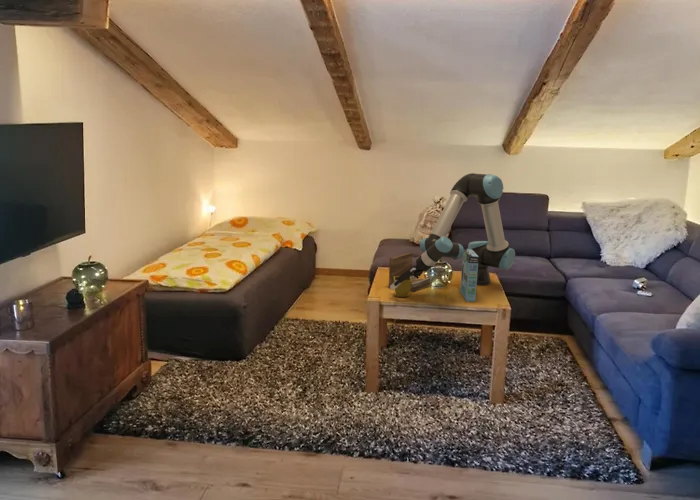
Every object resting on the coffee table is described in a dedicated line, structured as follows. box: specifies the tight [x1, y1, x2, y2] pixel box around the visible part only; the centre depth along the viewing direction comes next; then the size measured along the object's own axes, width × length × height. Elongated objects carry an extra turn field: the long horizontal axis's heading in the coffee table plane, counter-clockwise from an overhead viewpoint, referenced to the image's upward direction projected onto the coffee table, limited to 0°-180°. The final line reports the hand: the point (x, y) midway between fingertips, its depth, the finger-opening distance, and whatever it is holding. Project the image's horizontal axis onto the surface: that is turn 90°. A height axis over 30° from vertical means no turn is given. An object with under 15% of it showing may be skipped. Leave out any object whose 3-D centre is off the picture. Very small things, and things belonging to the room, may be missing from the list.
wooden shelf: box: [388, 252, 430, 293], centre depth 328 cm, size 15×20×16 cm
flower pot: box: [394, 276, 412, 298], centre depth 309 cm, size 9×9×9 cm
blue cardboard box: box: [459, 248, 479, 303], centre depth 309 cm, size 20×5×23 cm, turn 178°
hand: (398, 286), depth 310 cm, fingers open, 13 cm apart
